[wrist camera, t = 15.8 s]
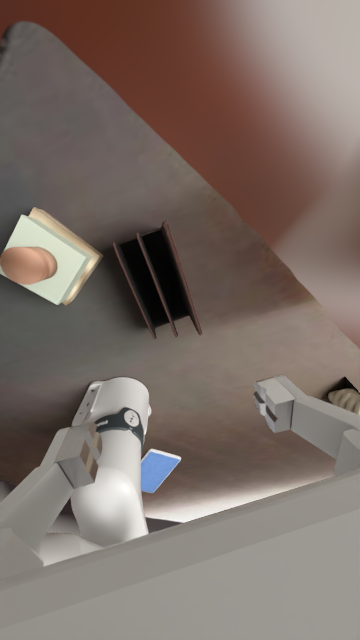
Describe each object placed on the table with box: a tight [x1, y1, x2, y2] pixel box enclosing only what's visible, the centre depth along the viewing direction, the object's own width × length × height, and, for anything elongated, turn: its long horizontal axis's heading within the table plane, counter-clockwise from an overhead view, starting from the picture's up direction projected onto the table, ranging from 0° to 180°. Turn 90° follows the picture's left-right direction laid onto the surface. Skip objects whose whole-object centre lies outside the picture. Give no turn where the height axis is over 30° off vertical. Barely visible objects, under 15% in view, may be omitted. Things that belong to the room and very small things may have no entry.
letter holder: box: [113, 220, 202, 339], centre depth 35 cm, size 10×20×14 cm, turn 18°
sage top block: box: [0, 215, 92, 305], centre depth 32 cm, size 10×10×4 cm
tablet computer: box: [141, 449, 181, 493], centre depth 64 cm, size 19×13×1 cm, turn 147°
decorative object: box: [328, 377, 360, 415], centre depth 60 cm, size 12×10×10 cm
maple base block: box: [29, 207, 104, 305], centre depth 36 cm, size 12×12×4 cm
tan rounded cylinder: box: [0, 247, 58, 285], centre depth 28 cm, size 5×5×5 cm
